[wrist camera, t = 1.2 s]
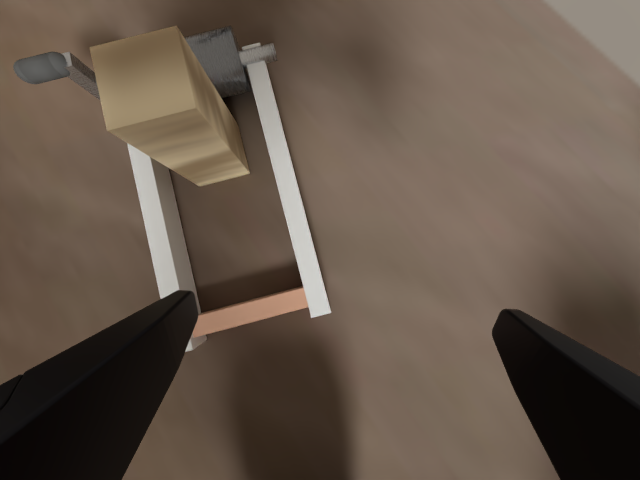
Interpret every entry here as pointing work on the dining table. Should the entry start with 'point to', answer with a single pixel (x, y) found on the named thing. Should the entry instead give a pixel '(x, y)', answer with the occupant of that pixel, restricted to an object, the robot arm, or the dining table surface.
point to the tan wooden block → (168, 106)
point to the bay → (157, 190)
